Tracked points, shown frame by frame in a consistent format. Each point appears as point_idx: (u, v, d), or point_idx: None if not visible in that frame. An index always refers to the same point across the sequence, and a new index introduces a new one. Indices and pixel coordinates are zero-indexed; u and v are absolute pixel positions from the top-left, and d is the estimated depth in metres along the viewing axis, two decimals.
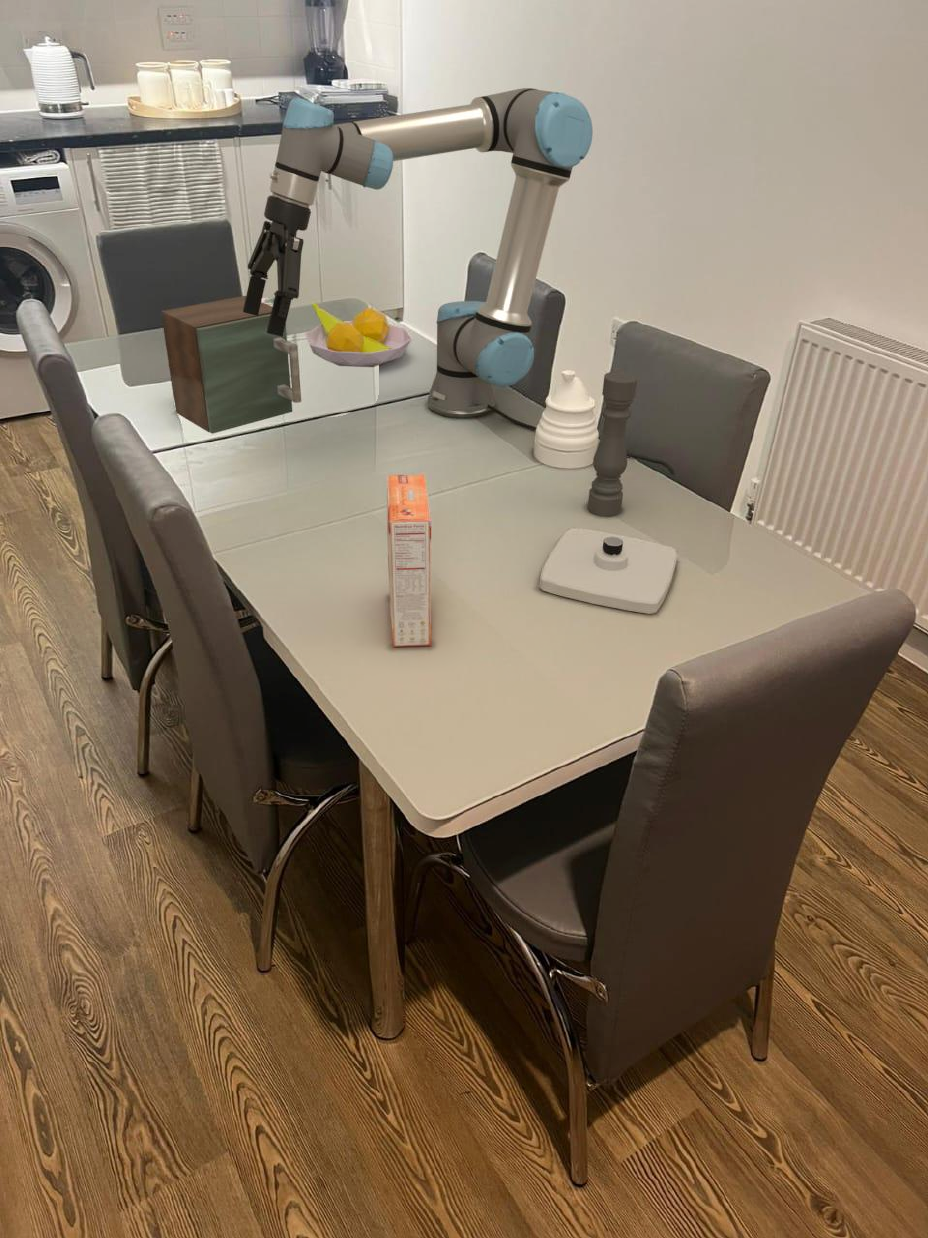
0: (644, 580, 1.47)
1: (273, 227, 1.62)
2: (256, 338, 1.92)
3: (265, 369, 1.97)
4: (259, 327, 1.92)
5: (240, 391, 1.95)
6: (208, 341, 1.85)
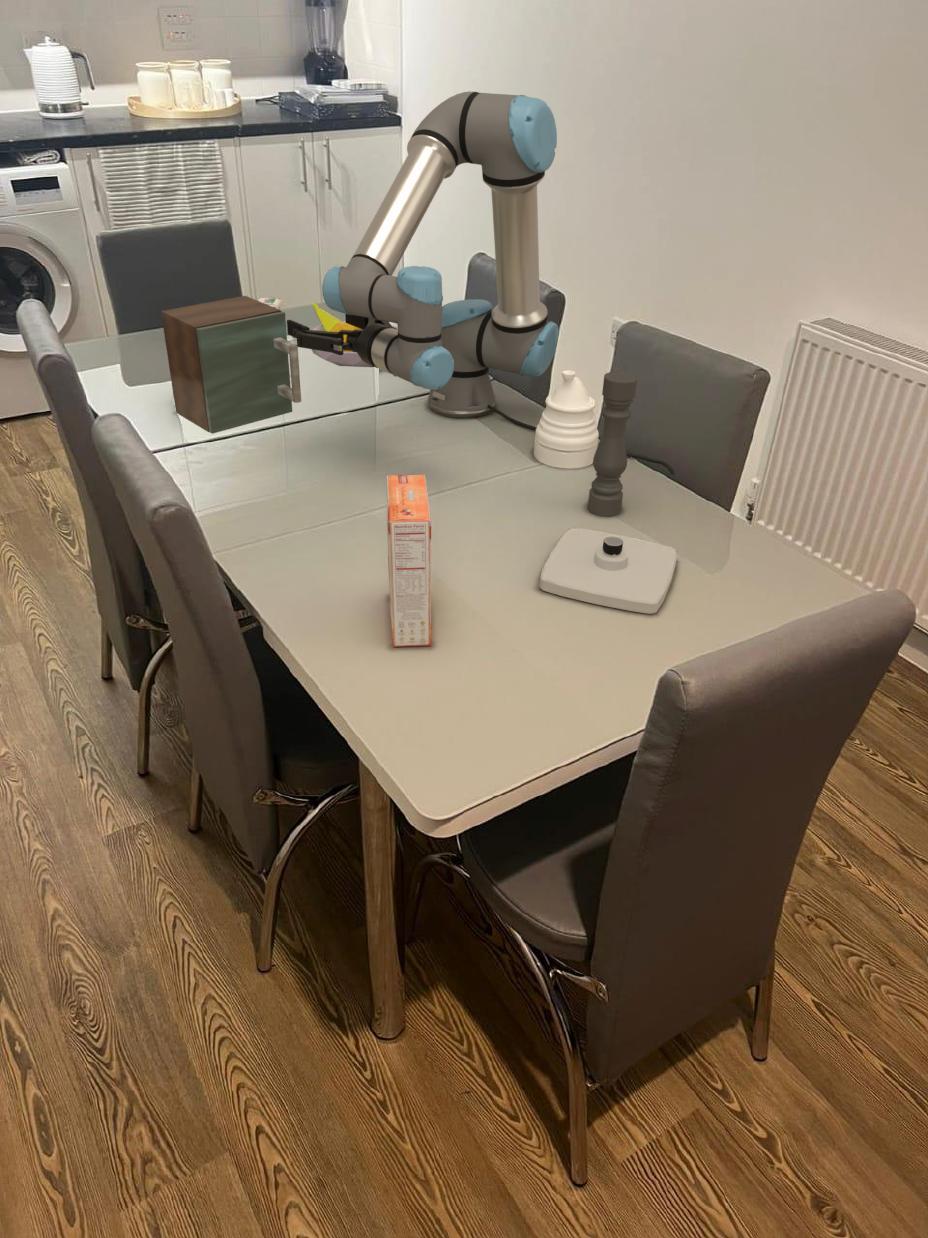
0: (644, 580, 1.47)
1: None
2: (256, 338, 1.92)
3: (265, 369, 1.97)
4: (259, 327, 1.92)
5: (240, 391, 1.95)
6: (208, 341, 1.85)
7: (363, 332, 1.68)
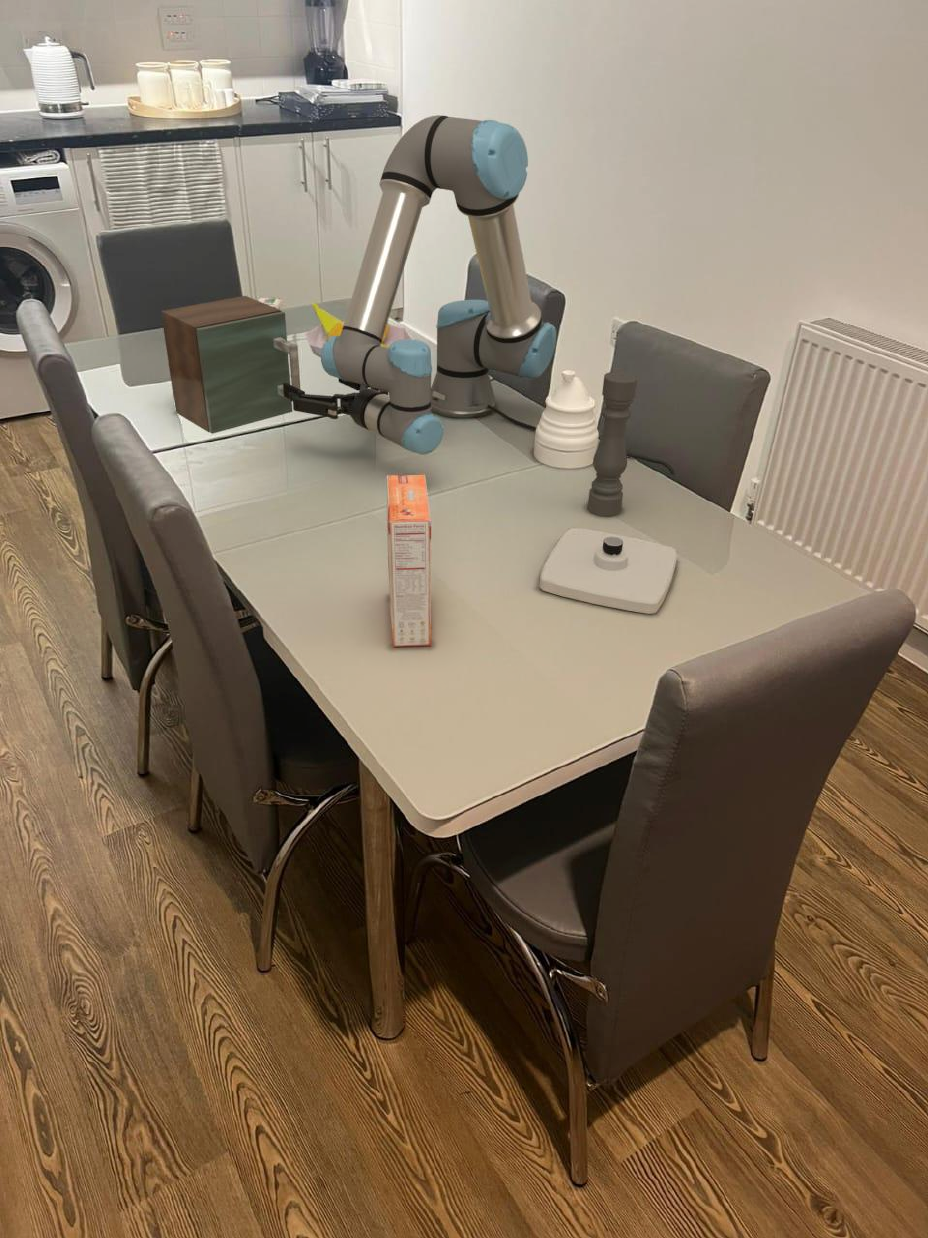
0: (644, 580, 1.47)
1: None
2: (256, 338, 1.92)
3: (265, 369, 1.97)
4: (259, 327, 1.92)
5: (240, 391, 1.95)
6: (208, 341, 1.85)
7: (356, 398, 1.77)
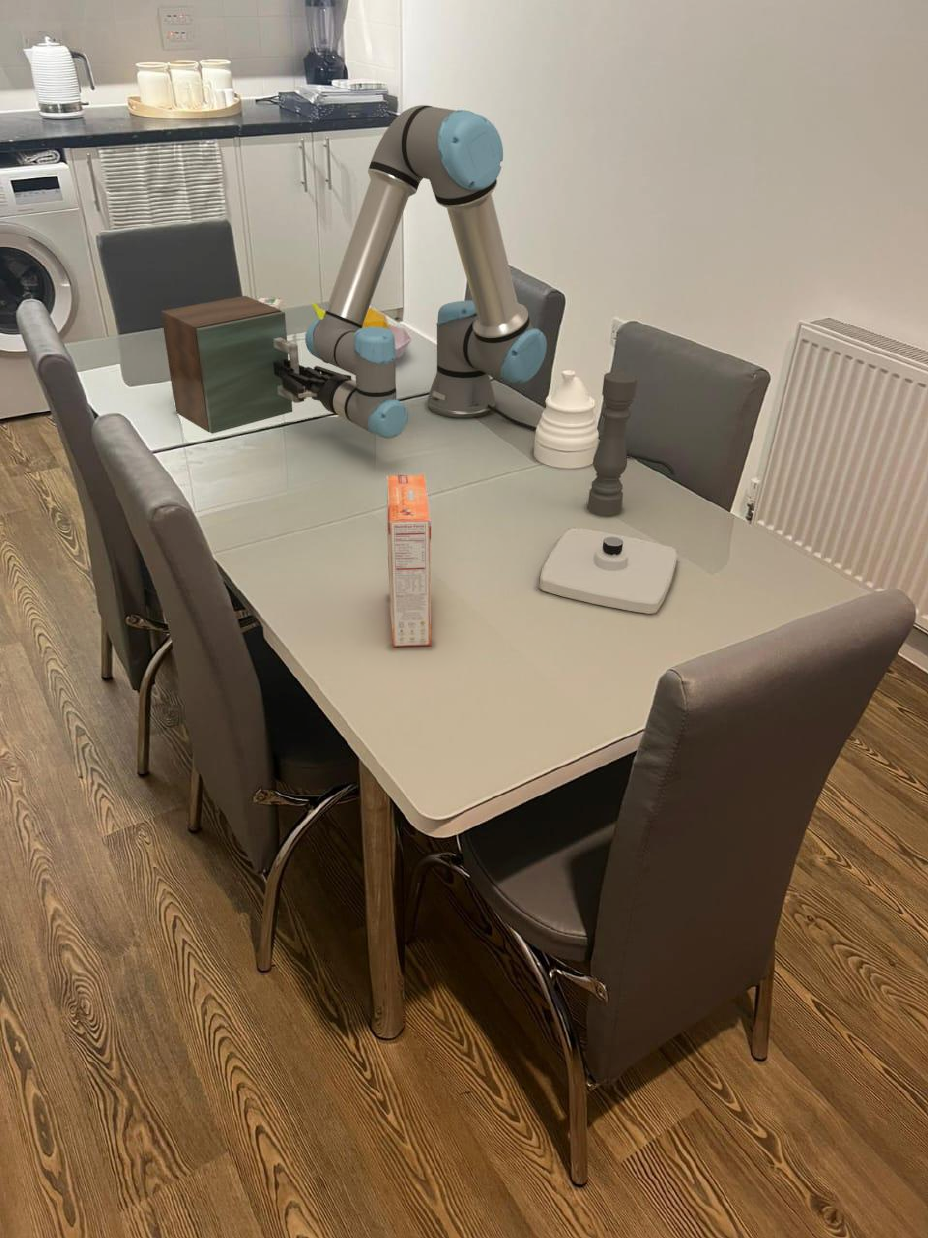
0: (644, 580, 1.47)
1: None
2: (256, 338, 1.92)
3: (265, 369, 1.97)
4: (259, 327, 1.92)
5: (240, 391, 1.95)
6: (208, 341, 1.85)
7: (326, 384, 1.83)
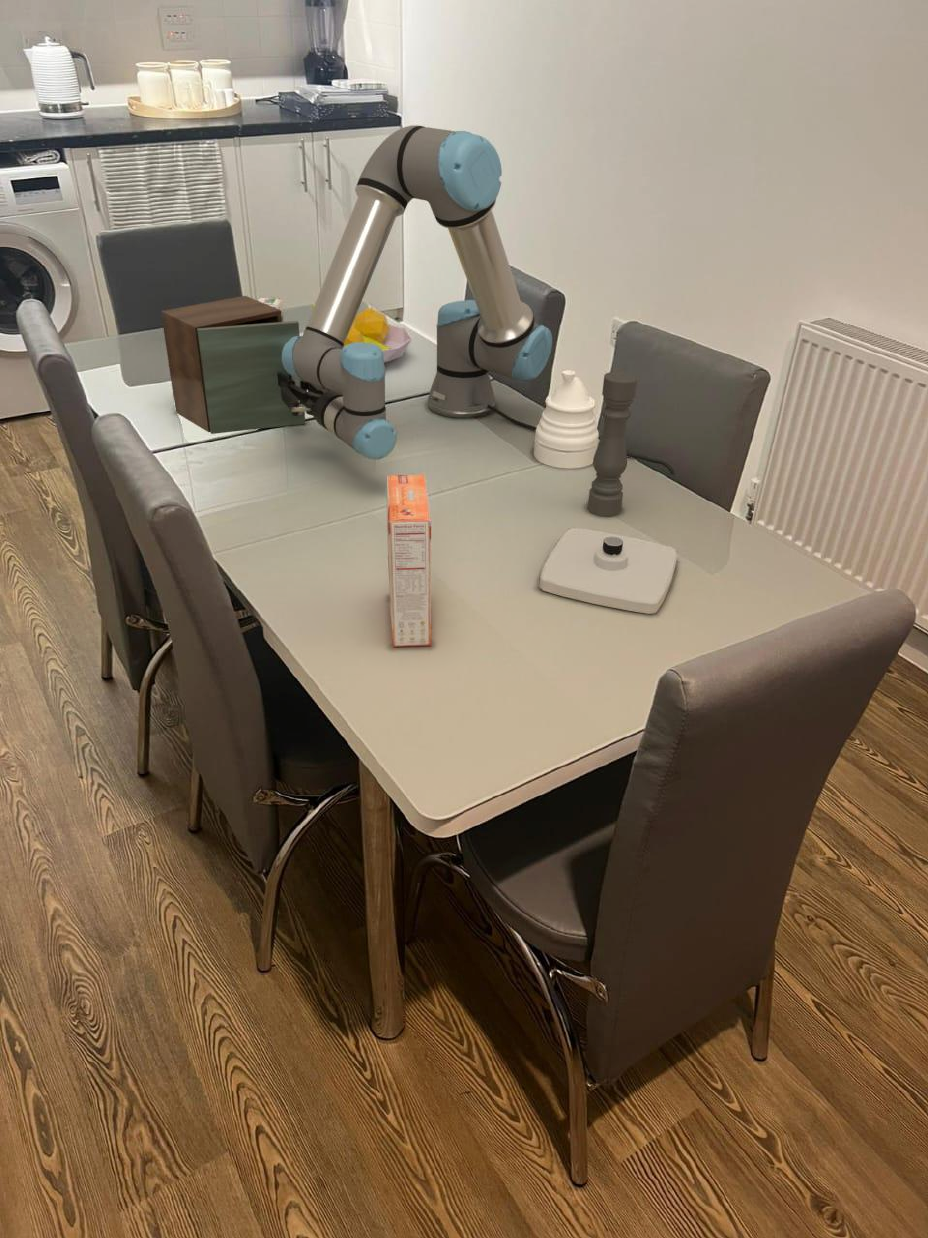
0: (644, 580, 1.47)
1: None
2: (264, 345, 1.89)
3: (274, 377, 1.93)
4: (267, 334, 1.88)
5: (244, 396, 1.93)
6: (208, 342, 1.85)
7: (319, 399, 1.77)
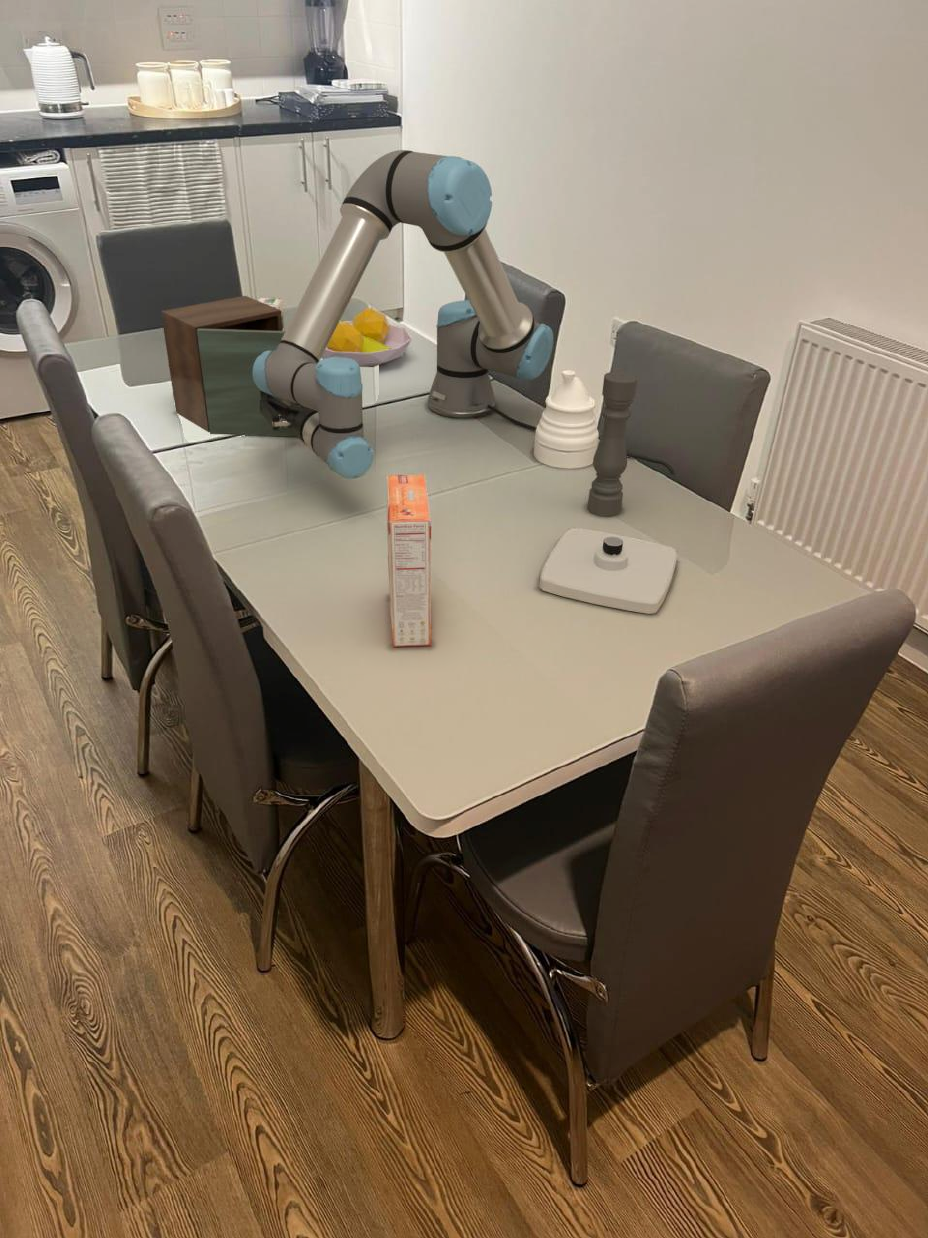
0: (644, 580, 1.47)
1: None
2: None
3: None
4: (266, 341, 1.84)
5: (243, 401, 1.91)
6: (207, 343, 1.84)
7: (299, 413, 1.70)
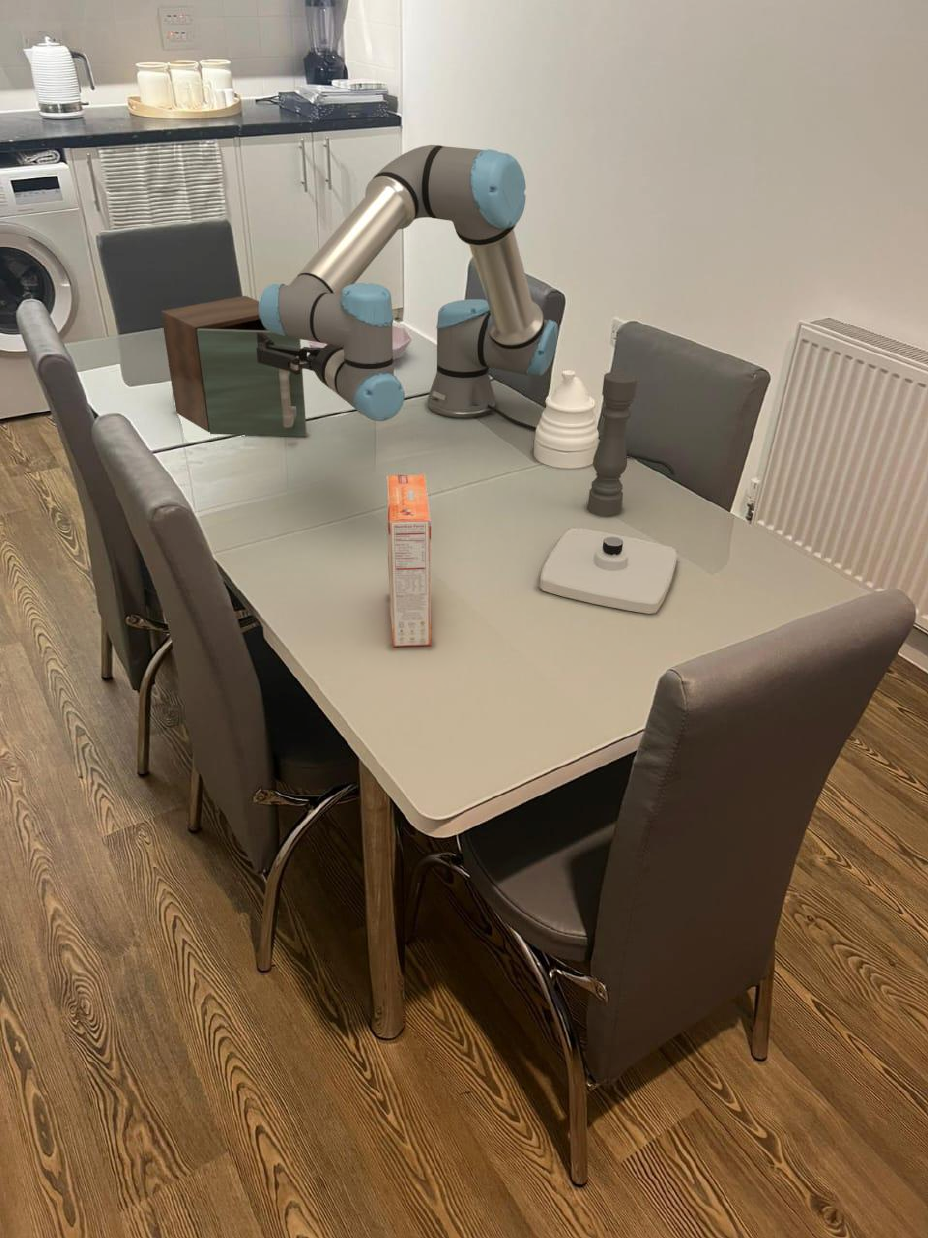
0: (644, 580, 1.47)
1: None
2: None
3: (273, 386, 1.89)
4: None
5: (243, 401, 1.91)
6: (207, 343, 1.84)
7: (321, 351, 1.54)
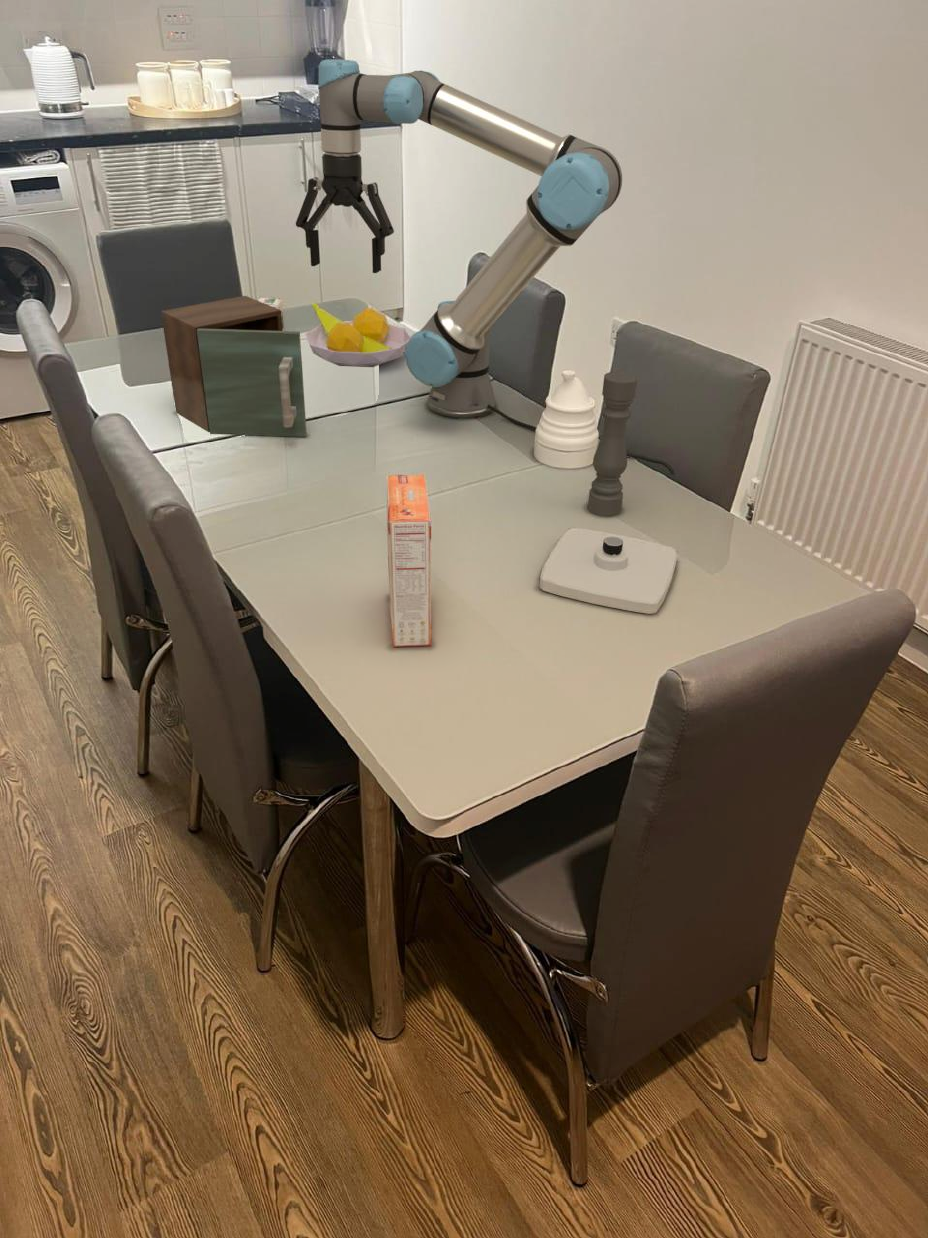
0: (644, 580, 1.47)
1: None
2: (263, 352, 1.85)
3: (273, 386, 1.89)
4: (266, 341, 1.84)
5: (243, 401, 1.91)
6: (207, 343, 1.84)
7: (349, 173, 1.78)
